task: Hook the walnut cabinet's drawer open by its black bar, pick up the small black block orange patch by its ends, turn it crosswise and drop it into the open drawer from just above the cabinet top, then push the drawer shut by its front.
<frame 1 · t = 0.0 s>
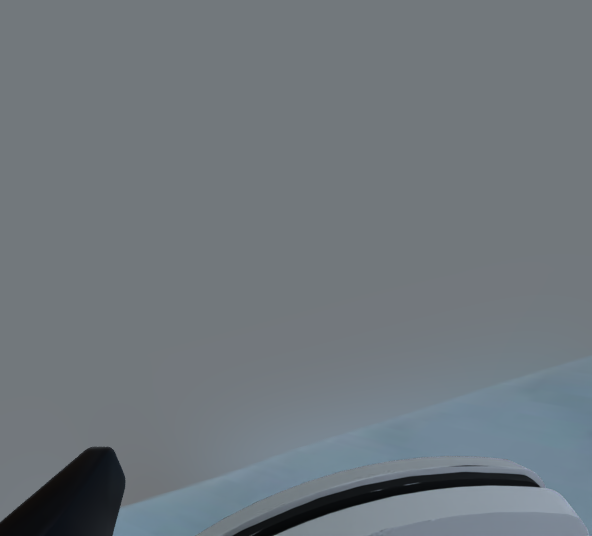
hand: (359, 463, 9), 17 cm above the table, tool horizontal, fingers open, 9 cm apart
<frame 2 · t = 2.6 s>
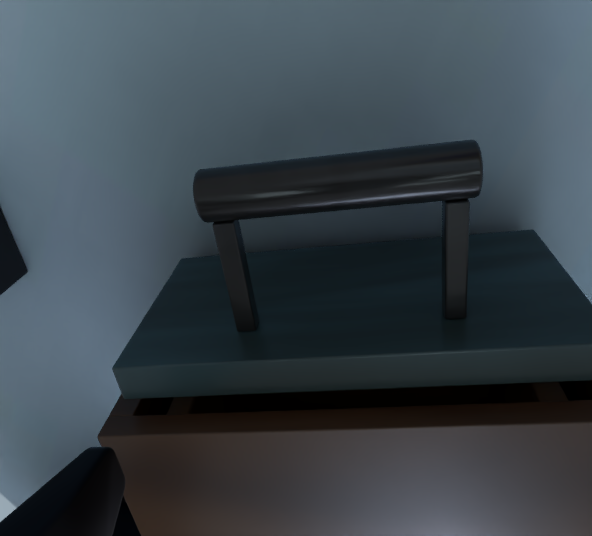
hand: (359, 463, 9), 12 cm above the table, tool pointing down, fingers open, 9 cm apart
drawer: (359, 401, 18), point 4 cm above the table, slide at 0.5 cm
cabinet: (365, 411, 24), on the table
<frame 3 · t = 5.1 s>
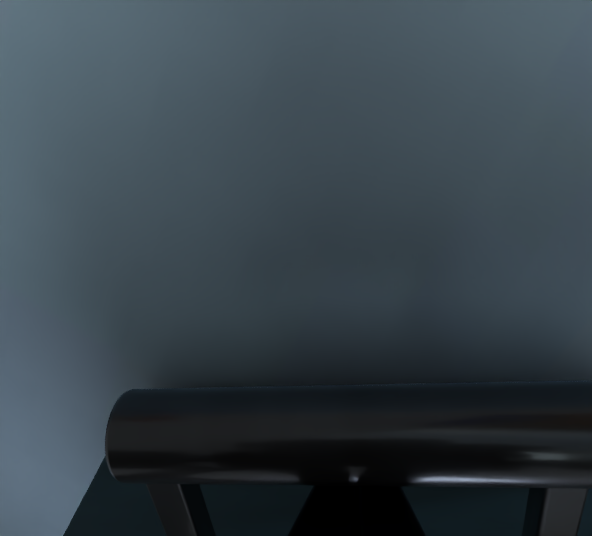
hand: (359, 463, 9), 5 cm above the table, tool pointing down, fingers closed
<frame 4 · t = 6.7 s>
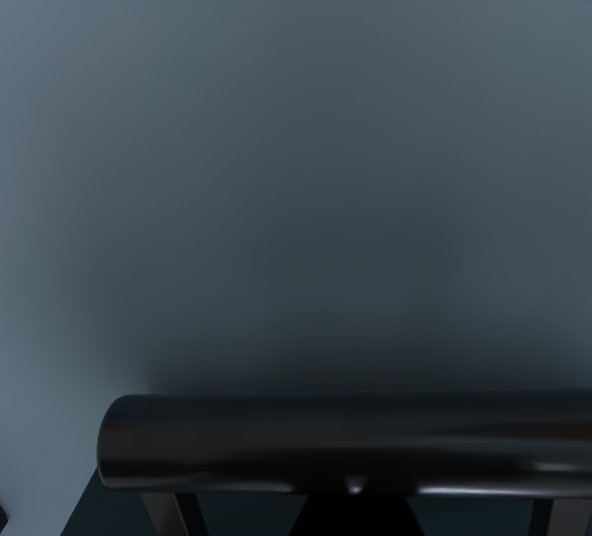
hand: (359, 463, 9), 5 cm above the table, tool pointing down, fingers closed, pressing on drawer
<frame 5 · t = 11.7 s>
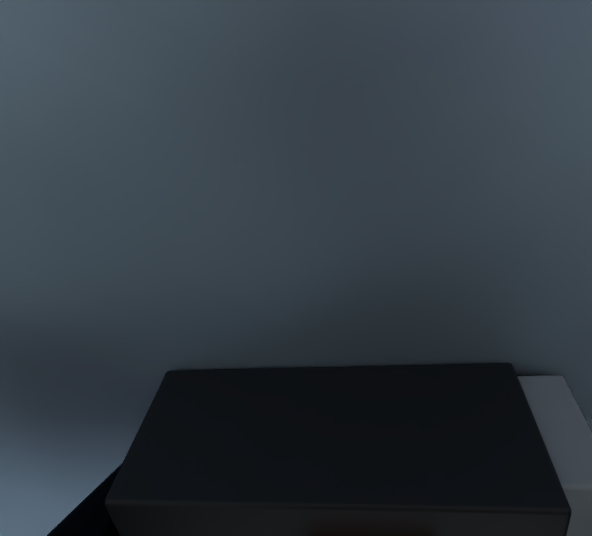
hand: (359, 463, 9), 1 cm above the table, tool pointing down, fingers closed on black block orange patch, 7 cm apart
black block orange patch: (357, 417, 10), on the table, touching gripper
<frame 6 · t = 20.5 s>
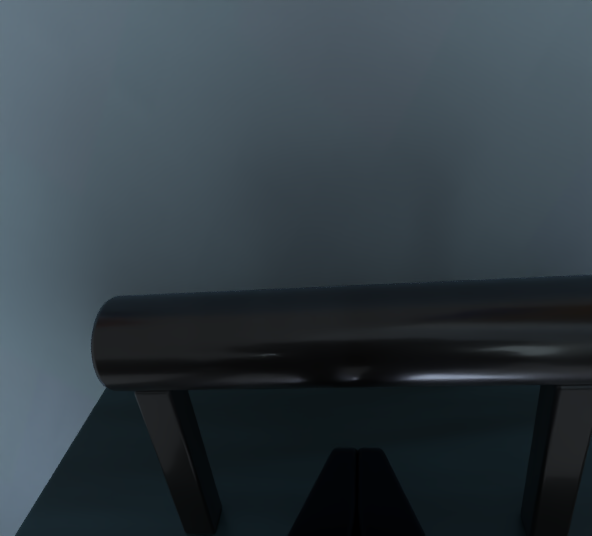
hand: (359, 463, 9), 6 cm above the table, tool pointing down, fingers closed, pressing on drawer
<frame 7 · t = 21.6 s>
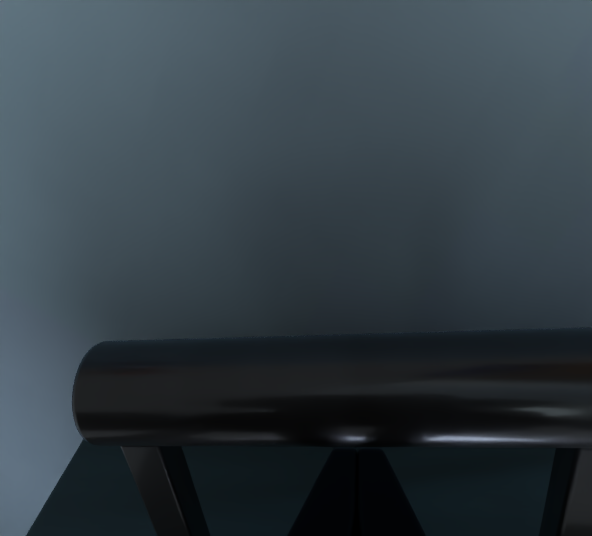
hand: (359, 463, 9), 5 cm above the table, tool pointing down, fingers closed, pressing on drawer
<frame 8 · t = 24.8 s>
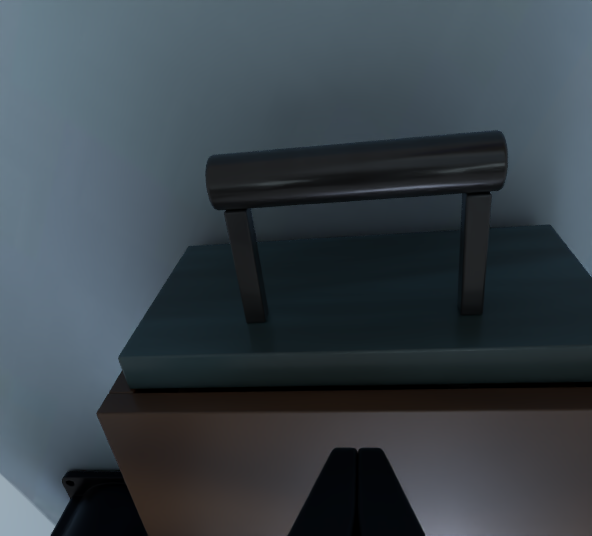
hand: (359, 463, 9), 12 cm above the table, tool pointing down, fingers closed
drawer: (367, 396, 18), point 4 cm above the table, slide at 0.0 cm, touching black block orange patch, cabinet
cabinet: (370, 397, 24), on the table
black block orange patch: (367, 351, 20), point 2 cm above the table, touching drawer
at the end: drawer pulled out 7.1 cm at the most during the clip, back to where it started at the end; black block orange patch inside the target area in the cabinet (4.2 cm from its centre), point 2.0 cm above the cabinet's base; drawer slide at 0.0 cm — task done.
